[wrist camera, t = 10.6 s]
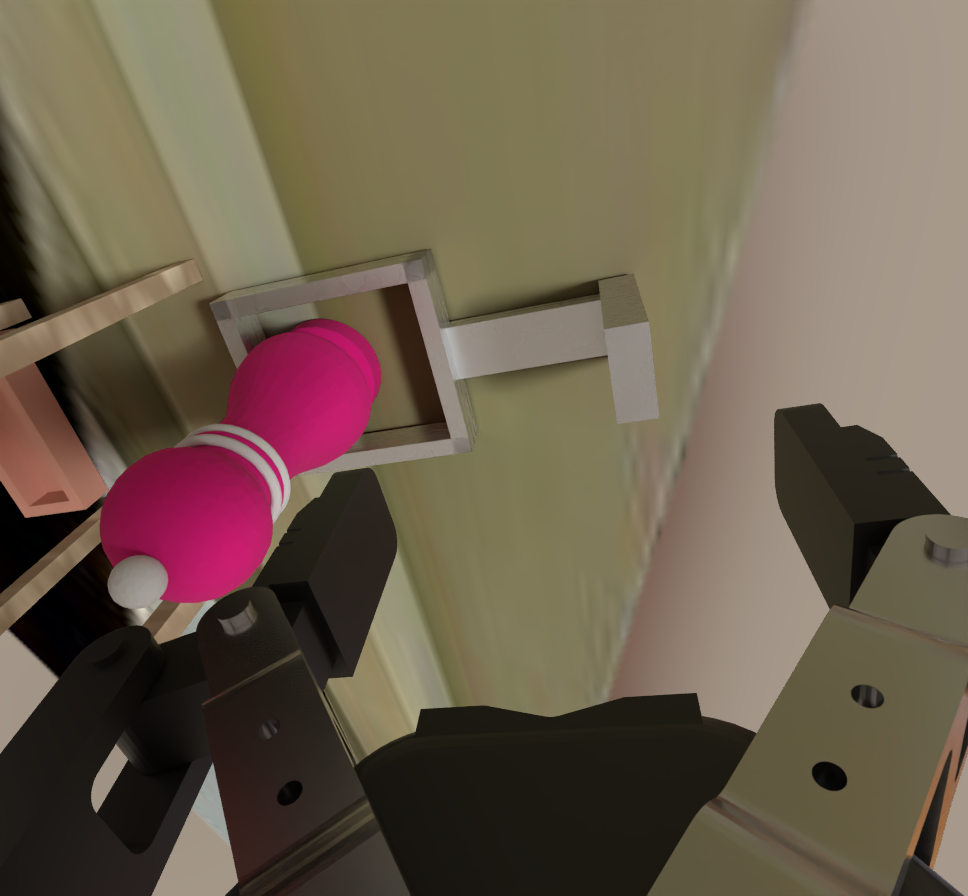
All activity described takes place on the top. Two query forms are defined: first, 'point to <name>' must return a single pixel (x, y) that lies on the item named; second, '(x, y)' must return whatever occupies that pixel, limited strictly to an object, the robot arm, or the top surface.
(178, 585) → the pepper mill
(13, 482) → the pit tray
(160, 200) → the top surface
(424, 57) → the top surface
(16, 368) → the shelf tunnel
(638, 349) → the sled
